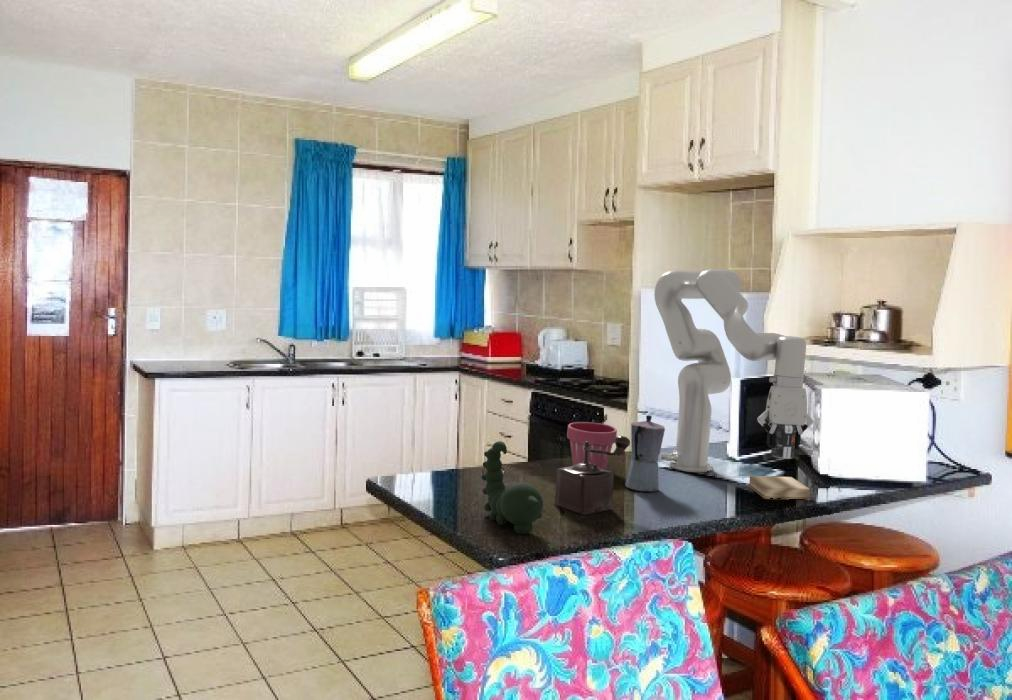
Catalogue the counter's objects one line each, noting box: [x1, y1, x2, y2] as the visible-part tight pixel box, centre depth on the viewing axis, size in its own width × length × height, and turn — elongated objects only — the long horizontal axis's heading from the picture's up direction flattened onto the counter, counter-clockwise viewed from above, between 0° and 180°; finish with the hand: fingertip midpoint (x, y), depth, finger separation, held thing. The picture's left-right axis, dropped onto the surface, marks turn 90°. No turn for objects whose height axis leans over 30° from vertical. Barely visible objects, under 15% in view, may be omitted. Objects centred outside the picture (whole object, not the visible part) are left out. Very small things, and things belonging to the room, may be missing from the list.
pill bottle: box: [770, 425, 796, 460], centre depth 238 cm, size 6×6×11 cm
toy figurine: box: [481, 440, 544, 535], centre depth 199 cm, size 9×19×25 cm
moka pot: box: [624, 414, 666, 492], centre depth 236 cm, size 10×15×20 cm, turn 155°
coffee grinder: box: [554, 435, 631, 516], centre depth 217 cm, size 16×11×18 cm
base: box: [747, 475, 811, 500], centre depth 240 cm, size 13×13×3 cm
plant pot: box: [566, 421, 618, 470], centre depth 253 cm, size 14×14×13 cm
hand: (782, 447), depth 239 cm, fingers closed on pill bottle, 6 cm apart
